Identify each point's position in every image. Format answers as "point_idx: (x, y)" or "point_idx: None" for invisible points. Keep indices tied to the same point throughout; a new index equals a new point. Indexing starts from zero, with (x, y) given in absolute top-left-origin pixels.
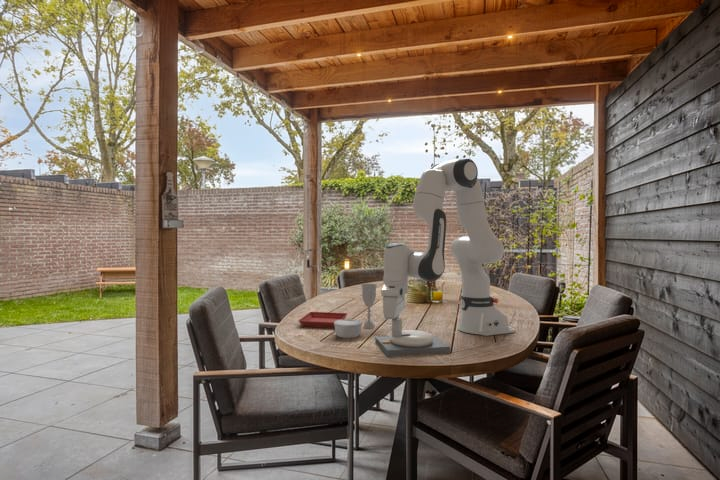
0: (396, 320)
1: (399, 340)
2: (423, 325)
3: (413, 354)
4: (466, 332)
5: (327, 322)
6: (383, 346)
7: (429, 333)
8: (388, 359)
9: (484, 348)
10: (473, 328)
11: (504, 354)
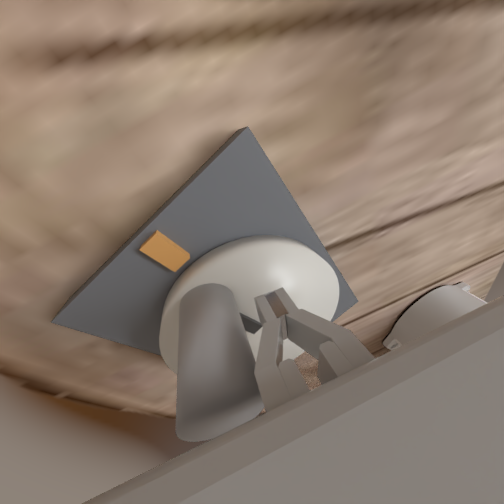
0: (182, 437)
1: (160, 338)
2: (487, 202)
3: None
4: (402, 316)
5: None
6: (107, 265)
7: None
8: (33, 322)
9: (304, 378)
10: (406, 334)
11: None
